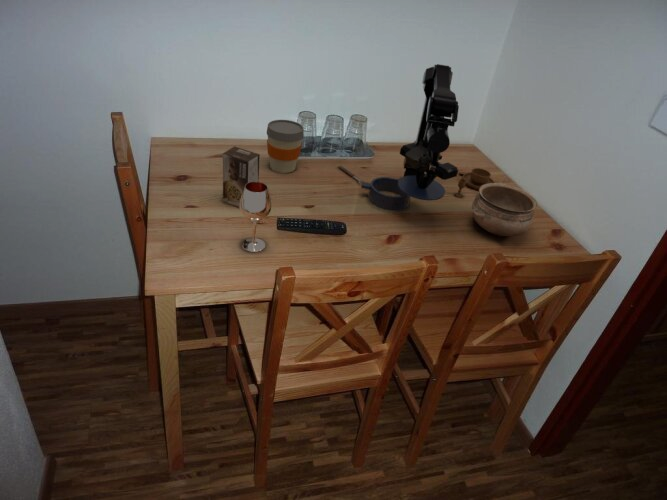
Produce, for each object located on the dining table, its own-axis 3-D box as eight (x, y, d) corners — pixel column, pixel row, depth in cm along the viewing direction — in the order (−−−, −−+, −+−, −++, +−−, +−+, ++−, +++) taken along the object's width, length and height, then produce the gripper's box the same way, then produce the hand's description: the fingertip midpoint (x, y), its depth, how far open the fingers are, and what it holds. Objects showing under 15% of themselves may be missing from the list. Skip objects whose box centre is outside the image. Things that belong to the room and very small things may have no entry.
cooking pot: (484, 253, 150) (497, 218, 143) (446, 219, 163) (456, 186, 156) (545, 240, 161) (559, 207, 154) (505, 210, 174) (516, 178, 167)
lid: (397, 175, 162) (401, 160, 159) (443, 183, 161) (447, 168, 158) (396, 197, 150) (400, 182, 147) (445, 205, 149) (450, 190, 146)
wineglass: (239, 235, 141) (241, 178, 131) (269, 237, 142) (272, 180, 132) (237, 253, 135) (238, 193, 124) (268, 254, 136) (272, 196, 125)
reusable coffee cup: (273, 177, 172) (276, 135, 163) (259, 161, 181) (261, 120, 172) (306, 172, 178) (310, 132, 169) (291, 157, 186) (294, 118, 178)
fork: (372, 188, 175) (369, 164, 173) (367, 189, 173) (363, 165, 171) (345, 188, 187) (342, 165, 185) (340, 189, 186) (336, 167, 184)
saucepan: (361, 187, 174) (364, 172, 171) (416, 196, 174) (419, 182, 171) (357, 206, 163) (360, 191, 160) (416, 216, 163) (420, 201, 159)
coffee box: (258, 202, 157) (261, 154, 148) (247, 210, 152) (248, 161, 143) (233, 193, 160) (234, 145, 151) (221, 201, 155) (221, 152, 146)
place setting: (504, 195, 183) (510, 180, 180) (457, 198, 177) (462, 183, 173) (478, 172, 197) (482, 158, 193) (433, 175, 190) (437, 160, 186)
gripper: (391, 129, 147) (381, 177, 156) (439, 156, 136) (425, 206, 145) (418, 124, 153) (407, 170, 162) (465, 149, 142) (451, 198, 151)
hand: (421, 186), depth 155 cm, fingers closed on lid, 3 cm apart
